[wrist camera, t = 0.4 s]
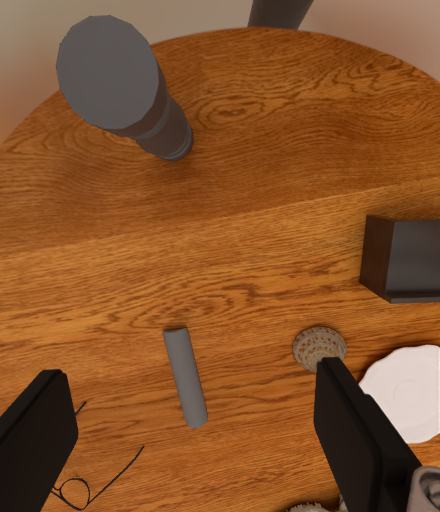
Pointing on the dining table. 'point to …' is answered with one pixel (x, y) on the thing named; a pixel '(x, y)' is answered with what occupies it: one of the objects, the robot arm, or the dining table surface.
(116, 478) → the glasses
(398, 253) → the block with raised lip
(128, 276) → the dining table surface
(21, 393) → the robot arm
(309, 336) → the seashell
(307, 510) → the golf shoe
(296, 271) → the dining table surface
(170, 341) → the half round rod
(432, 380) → the plate
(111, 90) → the candle holder
